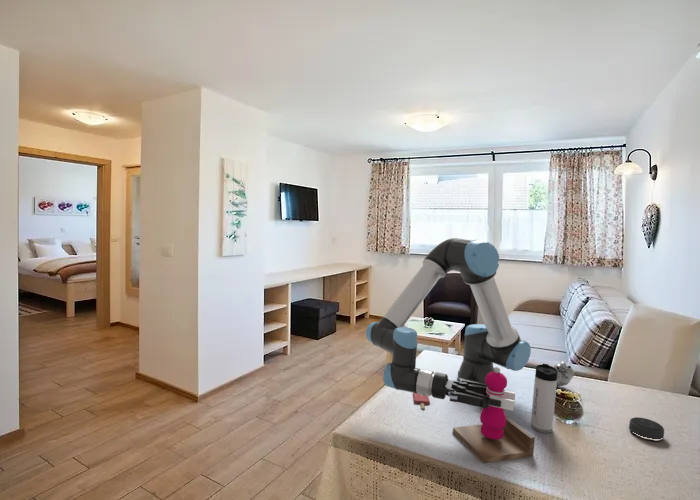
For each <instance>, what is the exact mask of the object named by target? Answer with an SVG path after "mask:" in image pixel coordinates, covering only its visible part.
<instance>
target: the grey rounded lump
mask: <svg viewBox="0 0 700 500" xmlns="http://www.w3.org/2000/svg"><path fill="white" fill-rule="evenodd" d="M553 367H554V368H555V369H557V371H558V372H557V385H556V387H564V386H567V385H569V383H571V380H572V379H573V377H574V376H575V372H574V369H573V368H572V365H567V363H566V362H565V361H560V363H557V364H554V366H553Z"/></svg>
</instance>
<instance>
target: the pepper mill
mask: <svg viewBox="0 0 700 500" xmlns="http://www.w3.org/2000/svg"><path fill="white" fill-rule="evenodd" d="M507 379H508V378H507V376H505V375H504V374H503V372H502V373H501V369H500V367H497V366H495V367H494V372H489V373H488V374H487V375H486V378H485V383H486V385H487V386H488V387H486V389H487V390H486V393H487V396H488V397H489V398H490V395H492V396H496V397H501V398H502V397H503V396H504V392H505V391H506V390H505V389H506V388H507V386H508V380H507ZM504 410H505V409H503V408H499V407H494V406H490V405H489V406H488V409H486V408H482V409H481V412H480V415H479V420H480V422H481V424H482V425H481V424H480V425H481V433H482V434H483V435H484V436H485V437H487V438H490V439H501V438H503V433H504V430H503V428H504V427H505V425H506V416H507V415H506V413H505V411H504ZM505 415H506V416H505Z"/></svg>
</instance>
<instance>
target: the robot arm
mask: <svg viewBox="0 0 700 500" xmlns="http://www.w3.org/2000/svg"><path fill="white" fill-rule="evenodd" d="M499 262H500V256H499V252H498V249H497V248H496V247H495V245H493V244H492V243H490V242H489V241H485V240H481V239H465V238H458V237H453V238H448V239H446V240H444V241H442V242H441V243H439V244H437V245H436V246H435V247H433V249H432V250H431V251H430V252H429V253H427V256H426V257H425V258H424V259H423V260H422V266H421V267H420V268H419V269H418V271H417V272H416V274H415V275H414V276H413V277H412V278H411V280H410V281H409V283H408V284H407V285H406V287H405V288H404V289H403V291H402V292H401V293H400V294H399V296H398V297H397V299H395V301H394V303H392V305H391V306H390V307H389V308H388V309H387V311H386V313H385V314H384V315H383V317H382V318H381V319H380V320H379V321H378V322H377V321H373V322H371V323H370V324H369V325H368V326H367V328H366V330H365V337H366V339H367V341H368V342H369V343H371V344H373V346H376V347H378V348H380V349H382V350H384V351H386V352H387V353H389V354H391V362H387V364H386V365H385V367H384V369H383V375H382V379H383V384H384V385H385V386H386V387H388V388H391V389H395V390H397V391H403V392H408V393H412V394H413V393H417V394H421V395H422V396H425V395H426V396H428V397H433V398H435V399H439V400H445V399H446V397H449V402H454V403H461V404H465V405H469V406H472V407H473V406H474V407H478V408H482V409H483V408H486V409H488V406H489V405H490V406H494V407H499V408H503V410H508V411H515V410H514V409H515V403H516V402H515V401H516V400H515V399H516V392H513V391H509V390H508V391H507V390H504V391H505V392H504V396H503V397H502V398H501V397H496V396H492V395H490V398H489V397H488V396H487V393H486V390H487V389H486V387H488V386H487V385H486V383H485V378H486V375H487V374H488V373H489V372H494V368H495V367H494V364H496V365H498V366H500V367H503V368H505V369H507V370H511V371H515V372H518V371H521V370H522V369H523V368H524V367H525V366H526V365H527V364H528V362H529V360H530V357H531V353H532V352H531V350H532V349H531V345H530V343H529V342H528V341H526V340H524V339H521V337H520V333H519V332H518V329H517V328H515V327H513V326H512V324H511V322H510V318H509V315H508V313H507V310H506V308H505V305H504V302H503V299H502V296H501V293H500V290H499V288H498V285H497V283H496V279H495V276H497V272H498V269H499V266H500V264H499ZM450 271H451V272H452V271H454V272H459V273H460V276H461V277H462V281H463V282H464V283H465V284H466V285H469V287H470V289H471V292H472V294H473V297H474V299H475V302H476V304H477V307H478V310H479V312H480V315H481V318H482V320H483V323H484V324H482V323H476V324H474V323H473V324H469V325H467V326H466V327H465V332H464V337H463V338H464V339H463V358H462V362H461V365H460V367H459V369H458V371H457V379H456V380H455V379H454V380H453V379H449V376H448V374H447V373H443V372H438V371H435V372H434V371H433V370H428V369H422V368H418V367H416V364H417V351H418V344H419V343H418V332H417V331H416V330H415V329H414V328H411V327H407V326H406V327H405V324H406V323H408V321H409V319H410V318H411V317H412V315H413V314H414V313H415V312H416V310H417V309H418V307H419V306H420V305H421V304H422V302H423V301H424V300H425V299H426V297H427V296H428V294H429V293H430V292H431V290H433V288H434V287H435V286H436V284H437V282H438V281H439V280H440V279H441V278H442V279H443V278H445V277H446V275H447V274H448V273H449V272H450Z"/></svg>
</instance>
